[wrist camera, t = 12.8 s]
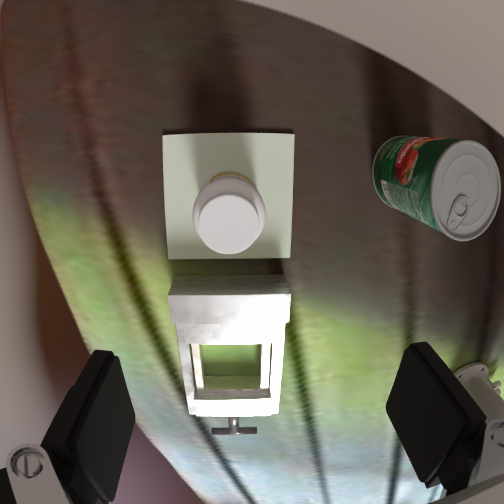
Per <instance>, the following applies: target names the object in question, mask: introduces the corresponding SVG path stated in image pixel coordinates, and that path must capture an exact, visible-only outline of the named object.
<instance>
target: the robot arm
mask: <svg viewBox="0 0 504 504" xmlns="http://www.w3.org/2000/svg"><path fill="white" fill-rule="evenodd" d="M488 377H489V371H488V368H487V367H486V366H485V364H483V363H482V362H473V363H470V364H467V365H465V366H463V367H462V368H460V369H458V370H457V371H456V372H454V373H452V371H451V370H450V369H449V368H448V366H447V365H446V364H445V363H444V362H443V360H442V359H441V358H440V357H439V355H438V354H437V353H436V352H435V351H434V349H433V348H432V347H431V346H430V345H429V344H428V343H427V342H418V343H412V344H410V345H409V347H408V348H407V349H405V351H404V354H403V357H402V360H401V363H400V366H399V369H398V372H397V375H396V378H395V381H394V384H393V387H392V390H391V392H390V395H389V398H388V400H387V403H386V412H387V414H388V416H389V418H390V420H391V422H392V424H393V426H394V428H395V430H396V432H397V435H398V437H399V439H400V441H401V443H402V445H403V447H404V449H405V451H406V453H407V455H408V457H409V459H410V461H411V464H412V466H413V468H414V470H415V472H416V474H417V476H418V479H419V480H420V481H421V482H424V483H425V486H426V488H427V489H428V488H430V487H433V486H436V485H438V484H440V483H441V484H442V486H443V490H442V493H441V496H440V499H439V500H437V501H434V502H431V503H429V504H504V400H503V399H502V398H501V397H500V394H501V392H500V389H499V387H501V382H500V381H496V382H494V383H492V382H491V381H490V380H489V378H488ZM134 423H135V412H134V409H133V406H132V402H131V399H130V396H129V392H128V389H127V386H126V382H125V378H124V375H123V371H122V367H121V364H120V360H119V357H118V356H114V353H113V352H112V351H105V350H94V352H93V353H92V355H91V357H90V358H89V360H88V362H87V363H86V365H85V367H84V369H83V371H82V372H81V374H80V376H79V378H78V379H77V381H76V383H75V385H74V386H72V387H71V388H70V390H69V391H68V393H67V395H66V396H65V398H64V400H63V402H62V404H61V406H60V408H59V409H58V411H57V413H56V415H55V417H54V419H53V421H52V423H51V425H50V427H49V429H48V431H47V433H46V435H45V437H44V439H43V441H42V443H41V445H40V446H38V445H36V444H31V443H27V444H21V445H19V446H17V447H15V448H14V449H13V450H11V452H10V453H9V455H8V457H7V460H6V468H3V469H0V504H108V503H109V501H110V502H112V501H113V500H114V498H115V494H116V490H117V486H118V482H119V478H120V474H121V471H122V467H123V463H124V459H125V456H126V452H127V448H128V445H129V441H130V438H131V434H132V430H133V427H134Z"/></svg>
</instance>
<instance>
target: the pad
mask: <svg viewBox="0 0 504 504" xmlns="http://www.w3.org/2000/svg"><path fill="white" fill-rule="evenodd" d="M293 169H294V134H277V133H201V134H177V135H163V175H164V199H165V218H166V234H167V247H168V259H240V258H290V246H291V225H292V200H293ZM224 171H235V172H239V173H241V174H244V175H245V176H247V177H248V178H249V179H250V180H251V181H252V182H253V183H254V185H255V186H256V188H257V190H258V192H259V193H260V195H261V197H262V199H263V201H264V204H265V208H266V221H265V225H264V228H263V230H262V232H261V234H260V235H259V236H258V238H257V239H256V240H255V241H254V242H253V243H252V244H251V245H250V246H249V247H248V248H247V249H245V250H244V251H241V252H239V253H235V254H222V253H218V252H216V251H214V250H212V249H211V248H209V247H208V246H207V245H206V244H205V243H204V242H203V240H202V239H201V237H200V236H199V235H198V233H197V231H196V229H195V227H194V224H193V218H192V211H193V206H194V202H195V200H196V198H197V196H198V194H199V192H200V191H201V189H202V188H203V186H204V184H205V183H206V182H207V181H208V180H209V179H210V178H211V177H212V176H214V175H215V174H217V173H220V172H224Z"/></svg>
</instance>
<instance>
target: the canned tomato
mask: <svg viewBox="0 0 504 504" xmlns="http://www.w3.org/2000/svg"><path fill="white" fill-rule="evenodd" d="M372 180H373V185H374V188H375V190H376V192H377V194H378V196H379V197H380V198H381V200H382V201H383V202H384V203H386V204H387V205H388V206H390V207H392V208H394V209H397V210H399V211H401V212H403V213H405V214H407V215H409V216H411V217H413V218H415V219H417V220H419V221H421V222H423V223H425V224H426V225H428V226H431V227H432V228H434V229H436V230H438V231H440V232H442V233H444V234H446V235H447V236H448V237H450V238H452V239H454V240H458V241H469V240H472V239H474V238H476V237H478V236H479V235H481V234H482V233H483V232H484V231H485V230H486V229H487V228H488V226H489V225H490V224H491V222H492V220H493V218H494V216H495V214H496V212H497V209H498V206H499V201H500V194H501V181H500V174H499V170H498V167H497V164H496V162H495V160H494V158H493V156H492V154H491V153H490V152H489V151H488V149H487V148H485V147H484V146H483V145H482V144H480V143H478V142H476V141H472V140H458V139H446V138H434V137H416V136H396V137H393V138H391V139H389V140H387V141H386V142H385V143H383V144H382V146H381V147H380V148H379V149H378V151H377V153H376V155H375V157H374V160H373V165H372Z"/></svg>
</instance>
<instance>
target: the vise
mask: <svg viewBox="0 0 504 504" xmlns="http://www.w3.org/2000/svg"><path fill="white" fill-rule="evenodd" d="M290 301H291V293H290V290H289V287H288V285H287V282H286V279H285V277H284V274H257V275H175V278H174V280H173V283H172V286H171V288H170V291H169V293H168V302H169V310H170V318H171V324H176V329H177V337H178V345H179V352H180V359H181V366H182V373H183V379H184V385H185V391H186V397H187V403H188V409H189V414H195V415H196V416H228V423H229V428H212V434H217V435H225V434H257V427H239V416H261V415H271V413H278V405H279V394H280V382H281V370H282V358H283V345H284V332H285V322H289V315H290ZM270 343H272V346H271V364H270V382H269V379H268V377H269V358H270ZM222 344H260V368H259V375H239V376H205V372H204V362H203V351H202V345H222ZM191 345H192V352H191ZM192 354H193V361H192ZM193 363H194V369H193ZM194 371H195V377H194ZM195 379H196V382H195Z"/></svg>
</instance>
